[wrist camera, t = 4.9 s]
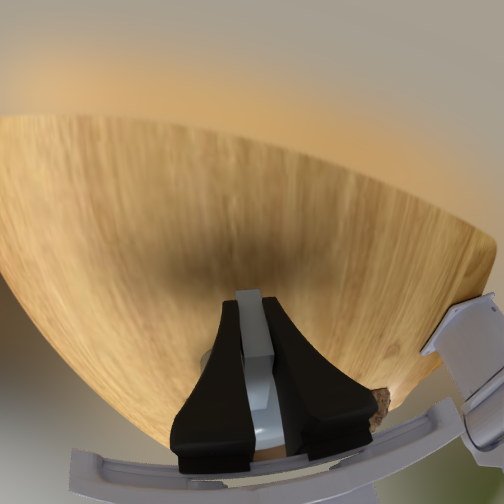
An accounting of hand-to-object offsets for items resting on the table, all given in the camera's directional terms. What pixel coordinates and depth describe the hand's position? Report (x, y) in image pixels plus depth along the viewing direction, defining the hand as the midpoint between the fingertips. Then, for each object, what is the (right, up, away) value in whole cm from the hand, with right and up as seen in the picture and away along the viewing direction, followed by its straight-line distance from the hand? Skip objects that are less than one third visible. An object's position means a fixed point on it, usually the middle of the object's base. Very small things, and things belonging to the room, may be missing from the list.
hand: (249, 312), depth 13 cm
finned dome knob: (0, -3, +5) cm, 6 cm away
